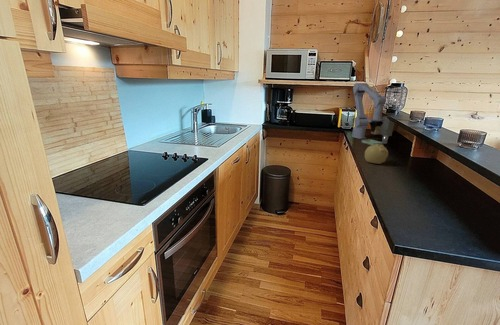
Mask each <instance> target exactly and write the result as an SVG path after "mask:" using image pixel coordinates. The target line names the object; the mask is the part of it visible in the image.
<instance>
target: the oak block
mask: <svg viewBox="0 0 500 325" xmlns="http://www.w3.org/2000/svg"><path fill="white" fill-rule="evenodd" d="M379 132H380V126H376V127H375V131H374V132H372V131H370V134H372V135H379Z"/></svg>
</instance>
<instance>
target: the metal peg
mask: <svg viewBox="0 0 500 325" xmlns="http://www.w3.org/2000/svg"><path fill="white" fill-rule="evenodd" d="M381 140H382V141H381V142H383V145H387V144H388V142H389V141H388V140H389V136H388V135H382V139H381Z"/></svg>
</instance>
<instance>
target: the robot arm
mask: <svg viewBox="0 0 500 325" xmlns="http://www.w3.org/2000/svg"><path fill="white" fill-rule="evenodd" d="M352 91H353V97H354V104H355V108H356V109H355V110H356V116H355V117H354V127H353V129H352V134H351V138H356V139H359V140H364V139H367V137H366V136H365V135H366V130H367V128H368V126H370V130H371V131H372V132H374V131H375V127H376V126H380V127H381V125H382V124H383V122H382V121H384V120H385V119H383V109H384V105H385V104H386V102H387V98H386V97H385V96H383V95H381V94H380V93H378V91H377V90H373V89H372V88H371V87H370V85H369V84H368V83H367V82H364V83H361V82H355V83H354V85H353V87H352ZM365 93H366V94H368V96H369V98H370V99H371V100H372V101H373V107H374V109H373V113H372V114H373V115H372V118H370V119H369V117H368V116H367V115H366V114H365V110H364V105H363V104H364V103H363V98H362V96H363V95H364V94H365ZM371 131H370V132H371Z"/></svg>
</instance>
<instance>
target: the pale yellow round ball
mask: <svg viewBox="0 0 500 325" xmlns="http://www.w3.org/2000/svg"><path fill="white" fill-rule="evenodd" d="M388 157H389V151H388V149H387V147H386V146H384V144H383V145H379V144H375V145H369V146H367V148H366V149H365V150H364V159H365V161H366V162H368V163H371V164H378V165H381V164H383V163H385V162H386V161H387V158H388Z"/></svg>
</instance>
